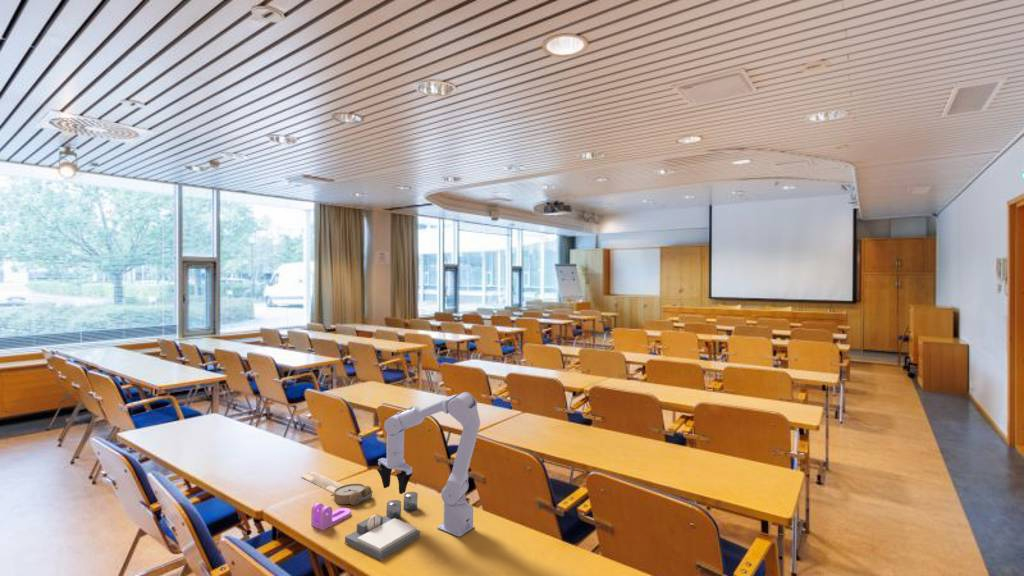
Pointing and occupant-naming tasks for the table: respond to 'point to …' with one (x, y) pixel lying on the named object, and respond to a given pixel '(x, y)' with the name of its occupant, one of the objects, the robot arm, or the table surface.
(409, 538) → the scale
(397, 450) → the robot arm
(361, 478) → the table surface
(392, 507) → the cylinder
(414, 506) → the cylinder
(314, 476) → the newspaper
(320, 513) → the bracket
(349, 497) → the alarm clock
